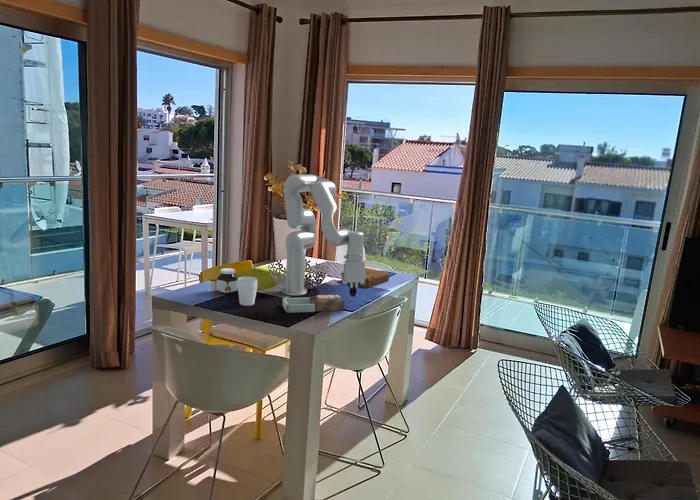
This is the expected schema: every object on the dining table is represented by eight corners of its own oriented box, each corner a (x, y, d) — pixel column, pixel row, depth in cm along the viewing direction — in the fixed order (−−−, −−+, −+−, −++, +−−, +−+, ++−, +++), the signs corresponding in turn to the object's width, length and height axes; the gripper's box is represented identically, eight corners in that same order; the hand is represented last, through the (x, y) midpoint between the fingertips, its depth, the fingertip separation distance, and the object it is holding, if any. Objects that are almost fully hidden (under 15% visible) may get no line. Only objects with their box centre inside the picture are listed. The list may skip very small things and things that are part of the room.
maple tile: (330, 303, 249) (330, 298, 248) (327, 300, 254) (327, 295, 253) (340, 303, 250) (341, 297, 250) (337, 299, 255) (338, 294, 255)
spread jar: (215, 293, 262) (215, 270, 260) (221, 288, 273) (221, 265, 271) (239, 295, 262) (240, 272, 259) (244, 289, 273) (245, 267, 270)
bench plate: (314, 311, 245) (314, 302, 244) (309, 305, 254) (310, 296, 253) (343, 310, 249) (344, 301, 249) (338, 304, 258) (338, 296, 257)
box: (286, 312, 240) (286, 305, 240) (282, 305, 251) (282, 298, 250) (314, 311, 244) (315, 304, 244) (309, 304, 255) (309, 297, 254)
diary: (368, 289, 293) (369, 279, 292) (340, 283, 302) (340, 273, 301) (388, 281, 312) (389, 272, 311) (361, 276, 322) (361, 266, 320)
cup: (257, 301, 254) (258, 277, 252) (255, 307, 245) (256, 281, 243) (238, 300, 254) (239, 275, 251) (235, 306, 245) (236, 280, 242)
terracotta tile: (318, 303, 247) (319, 298, 247) (316, 300, 252) (316, 295, 252) (329, 303, 249) (329, 298, 248) (326, 300, 254) (326, 295, 253)
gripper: (341, 259, 245) (339, 298, 248) (372, 259, 249) (370, 297, 252) (337, 256, 252) (335, 294, 255) (367, 256, 256) (365, 293, 259)
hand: (352, 295), depth 254 cm, fingers closed
